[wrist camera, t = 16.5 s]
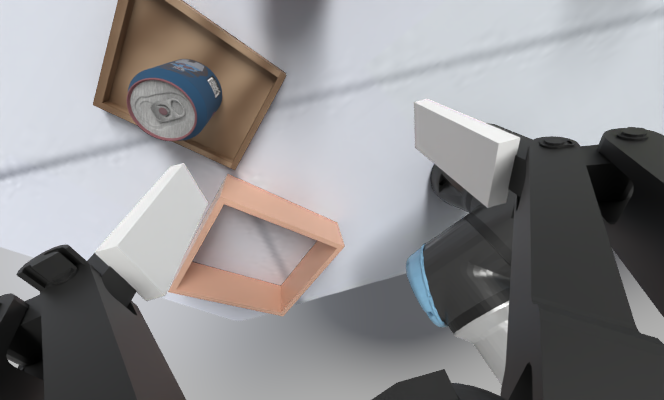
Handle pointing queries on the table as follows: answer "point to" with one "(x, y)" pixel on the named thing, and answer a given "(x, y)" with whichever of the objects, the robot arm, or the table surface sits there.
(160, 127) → the soda can
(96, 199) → the table surface
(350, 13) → the table surface
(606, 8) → the table surface
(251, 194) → the terracotta sleeve
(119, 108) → the walnut tray
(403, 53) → the table surface
